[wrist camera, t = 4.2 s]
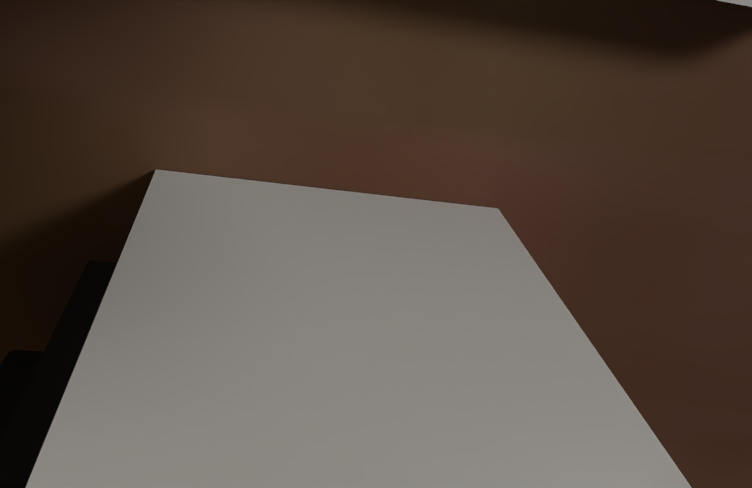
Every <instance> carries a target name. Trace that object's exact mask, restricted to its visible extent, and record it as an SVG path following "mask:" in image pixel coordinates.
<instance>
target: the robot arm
mask: <svg viewBox="0 0 752 488" xmlns="http://www.w3.org/2000/svg"><path fill="white" fill-rule="evenodd" d="M116 265H117V263H115V262H103V261H92V260H91V261H89V262H88V264H87V265H86V267H85V269H84V271H83V274H82V276H81V278H80V280H79V282H78V284H77V286H76V288H75V290H74V292H73V294H72V296H71V298H70V300H69V302H68V304H67V306H66V308H65V310H64V312H63V315H62V317H61V319H60V321H59V323H58V325H57V327H56V329H55V331H54V333H53V335H52V337H51V339H50V341H49V343H48V345H47V347H46V349H45V351H44V352H37V351H21V350H13V351H11V352H9V353H8V355H7V356H6V357H5V359H4V360H3V362H2V364H1V365H0V488H25V487H26V485H27V483H28V480H29V478H30V475H31V473H32V470H33V468H34V465H35V463H36V461H37V458H38V456H39V453H40V451H41V448H42V446H43V443H44V441H45V439H46V436H47V434H48V431H49V429H50V426H51V424H52V422H53V419H54V417H55V414H56V412H57V409H58V407H59V404H60V402H61V400H62V397H63V395H64V392H65V390H66V387H67V385H68V382H69V380H70V378H71V375H72V373H73V370H74V368H75V365H76V363H77V361H78V358H79V356H80V353H81V351H82V348H83V346H84V343H85V341H86V339H87V336H88V334H89V331H90V329H91V326H92V324H93V321H94V319H95V317H96V314H97V312H98V309H99V307H100V304H101V302H102V300H103V297H104V295H105V292H106V290H107V287H108V285H109V282H110V280H111V278H112V275H113V273H114V270H115V268H116Z"/></svg>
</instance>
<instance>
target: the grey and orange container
mask: <svg viewBox="0 0 752 488" xmlns="http://www.w3.org/2000/svg"><path fill="white" fill-rule="evenodd" d="M718 1H723V2H728V3H734V4H739V5H744V6H749V7H752V0H718Z"/></svg>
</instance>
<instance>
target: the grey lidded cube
mask: <svg viewBox="0 0 752 488" xmlns="http://www.w3.org/2000/svg"><path fill="white" fill-rule="evenodd" d="M25 488H691V486H690V485H689V483H688V482H687V480H686V479H685V478H684V476H683V475H682V473H681V472H680V470H679V469H678V467H677V466H676V465H675V463H674V462H673V460H672V459H671V457H670V456H669V454H668V453H667V452H666V450H665V449H664V447H663V446H662V444H661V443H660V442H659V440H658V439H657V437H656V436H655V434H654V433H653V431H652V430H651V429H650V427H649V426H648V424H647V423H646V421H645V420H644V418H643V417H642V416H641V414H640V413H639V411H638V410H637V408H636V407H635V405H634V404H633V403H632V401H631V400H630V398H629V397H628V395H627V394H626V393H625V391H624V390H623V388H622V387H621V385H620V384H619V382H618V381H617V380H616V378H615V377H614V375H613V374H612V372H611V371H610V369H609V368H608V367H607V365H606V364H605V362H604V361H603V359H602V358H601V356H600V355H599V354H598V352H597V351H596V349H595V348H594V346H593V345H592V344H591V342H590V341H589V339H588V338H587V336H586V335H585V333H584V332H583V331H582V329H581V328H580V326H579V325H578V323H577V322H576V320H575V319H574V318H573V316H572V315H571V313H570V312H569V310H568V309H567V307H566V306H565V305H564V303H563V302H562V300H561V299H560V297H559V296H558V295H557V293H556V292H555V290H554V289H553V287H552V286H551V284H550V283H549V282H548V280H547V279H546V277H545V276H544V274H543V273H542V271H541V270H540V269H539V267H538V266H537V264H536V263H535V261H534V260H533V258H532V257H531V256H530V254H529V253H528V251H527V250H526V248H525V247H524V246H523V244H522V243H521V241H520V240H519V238H518V237H517V235H516V234H515V233H514V231H513V230H512V228H511V227H510V225H509V224H508V222H507V221H506V220H505V218H504V217H503V215H502V214H501V212H500V211H499V209H498V208H489V207H480V206H471V205H463V204H454V203H445V202H436V201H428V200H419V199H410V198H401V197H393V196H384V195H375V194H366V193H357V192H349V191H340V190H331V189H322V188H314V187H305V186H296V185H287V184H279V183H270V182H261V181H252V180H244V179H235V178H226V177H217V176H208V175H200V174H191V173H182V172H173V171H165V170H155V173H154V175H153V178H152V180H151V182H150V185H149V187H148V190H147V192H146V195H145V197H144V199H143V202H142V204H141V207H140V209H139V212H138V214H137V217H136V219H135V221H134V224H133V226H132V229H131V231H130V234H129V236H128V239H127V241H126V243H125V246H124V248H123V251H122V253H121V256H120V258H119V260H118V263H117V265H116V268H115V270H114V273H113V275H112V278H111V280H110V282H109V285H108V287H107V290H106V292H105V295H104V297H103V300H102V302H101V304H100V307H99V309H98V312H97V314H96V317H95V319H94V321H93V324H92V326H91V329H90V331H89V334H88V336H87V339H86V341H85V343H84V346H83V348H82V351H81V353H80V356H79V358H78V361H77V363H76V365H75V368H74V370H73V373H72V375H71V378H70V380H69V382H68V385H67V387H66V390H65V392H64V395H63V397H62V400H61V402H60V404H59V407H58V409H57V412H56V414H55V417H54V419H53V422H52V424H51V426H50V429H49V431H48V434H47V436H46V439H45V441H44V443H43V446H42V448H41V451H40V453H39V456H38V458H37V461H36V463H35V465H34V468H33V470H32V473H31V475H30V478H29V480H28V483H27V485H26V487H25Z"/></svg>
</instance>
